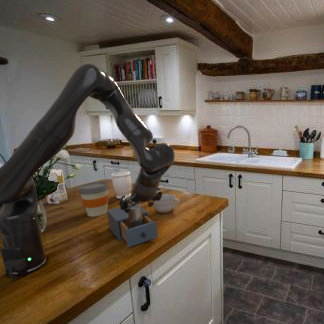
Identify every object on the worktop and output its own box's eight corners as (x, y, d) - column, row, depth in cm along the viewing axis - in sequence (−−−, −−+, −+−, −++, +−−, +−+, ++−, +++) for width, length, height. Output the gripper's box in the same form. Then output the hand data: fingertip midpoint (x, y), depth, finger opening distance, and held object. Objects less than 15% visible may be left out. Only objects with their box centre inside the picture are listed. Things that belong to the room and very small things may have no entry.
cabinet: (149, 230, 109) (148, 212, 107) (118, 240, 100) (116, 220, 98) (138, 219, 119) (136, 203, 117) (109, 228, 111) (107, 210, 109)
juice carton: (58, 204, 139) (52, 172, 136) (45, 203, 141) (39, 171, 137) (69, 200, 147) (64, 169, 143) (57, 199, 148) (52, 168, 144)
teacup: (150, 212, 127) (148, 198, 126) (166, 205, 137) (164, 191, 135) (169, 217, 121) (168, 202, 119) (185, 210, 130) (184, 195, 129)
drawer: (158, 238, 100) (157, 222, 98) (129, 248, 92) (127, 232, 91) (145, 226, 110) (144, 212, 109) (117, 234, 103) (115, 219, 101)
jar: (114, 195, 155) (112, 172, 152) (133, 192, 159) (130, 170, 156) (113, 200, 145) (110, 176, 142) (132, 197, 149) (130, 174, 146)
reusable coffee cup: (113, 206, 136) (109, 180, 133) (109, 215, 124) (105, 187, 121) (86, 210, 131) (82, 183, 128) (80, 219, 120) (75, 190, 117)
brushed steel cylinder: (140, 237, 99) (137, 209, 96) (128, 236, 99) (124, 208, 96) (146, 230, 104) (143, 204, 101) (134, 230, 104) (131, 204, 101)
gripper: (162, 173, 91) (153, 195, 101) (120, 181, 81) (115, 204, 92) (170, 190, 88) (159, 211, 98) (127, 200, 78) (121, 222, 89)
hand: (138, 207), depth 95 cm, fingers open, 8 cm apart
